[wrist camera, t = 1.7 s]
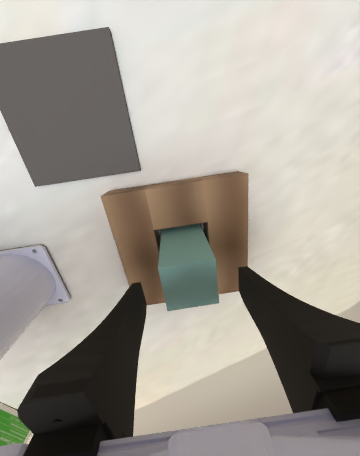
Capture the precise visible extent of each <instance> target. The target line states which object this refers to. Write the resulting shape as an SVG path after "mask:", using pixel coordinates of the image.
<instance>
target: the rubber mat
mask: <svg viewBox="0 0 360 456" xmlns="http://www.w3.org/2000/svg"><path fill="white" fill-rule="evenodd" d="M0 111H1V113H2V115H3V117H4V119H5V122H6V124H7V126H8V128H9V130H10V133H11V135H12V137H13V139H14V141H15V144H16V146H17V148H18V150H19V152H20V155H21V157H22V159H23V161H24V163H25V166H26V168H27V170H28V172H29V174H30V177H31V179H32V181H33V183H34V185H35V187H36V186H42V185H49V184H55V183H62V182H68V181H75V180H81V179H88V178H95V177H101V176H108V175H114V174H121V173H127V172H134V171H140V170H141V169H140V164H139V160H138V155H137V150H136V146H135V141H134V137H133V132H132V127H131V123H130V118H129V114H128V109H127V104H126V100H125V95H124V91H123V86H122V81H121V77H120V72H119V67H118V63H117V58H116V54H115V49H114V44H113V40H112V35H111V31H110V29H109V27H105V28H99V29H92V30H86V31H79V32H73V33H66V34H60V35H53V36H46V37H40V38H33V39H27V40H20V41H14V42H7V43H1V44H0Z"/></svg>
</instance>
